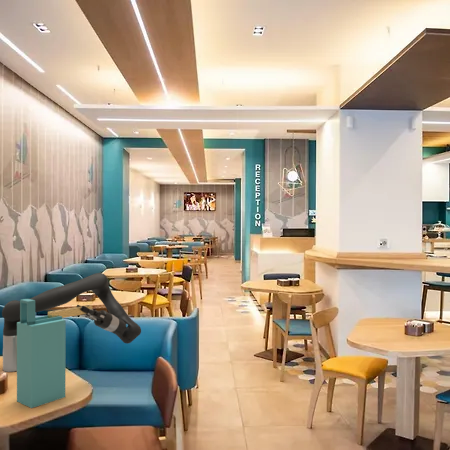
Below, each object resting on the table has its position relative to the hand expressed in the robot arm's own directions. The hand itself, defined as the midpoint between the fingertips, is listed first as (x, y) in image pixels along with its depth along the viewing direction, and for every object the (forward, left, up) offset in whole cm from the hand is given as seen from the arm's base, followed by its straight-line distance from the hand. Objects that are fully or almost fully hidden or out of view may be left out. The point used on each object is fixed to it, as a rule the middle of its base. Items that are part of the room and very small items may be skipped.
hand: (79, 307), depth 207 cm
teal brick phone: (0, -18, -35) cm, 39 cm away
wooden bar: (0, -4, -3) cm, 5 cm away
